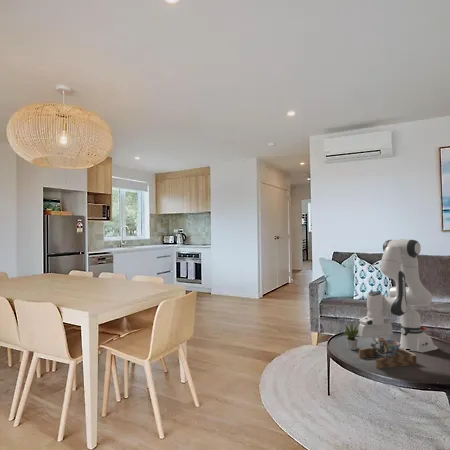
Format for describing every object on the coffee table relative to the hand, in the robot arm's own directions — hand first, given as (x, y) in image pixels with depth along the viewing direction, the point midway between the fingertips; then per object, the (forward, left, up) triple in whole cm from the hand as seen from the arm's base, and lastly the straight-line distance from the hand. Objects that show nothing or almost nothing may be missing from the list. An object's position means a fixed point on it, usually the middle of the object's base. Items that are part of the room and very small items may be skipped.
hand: (376, 343), depth 194 cm
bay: (-6, 0, -11) cm, 12 cm away
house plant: (0, -23, -11) cm, 25 cm away
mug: (-9, 0, -11) cm, 14 cm away
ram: (-4, 0, -10) cm, 11 cm away
